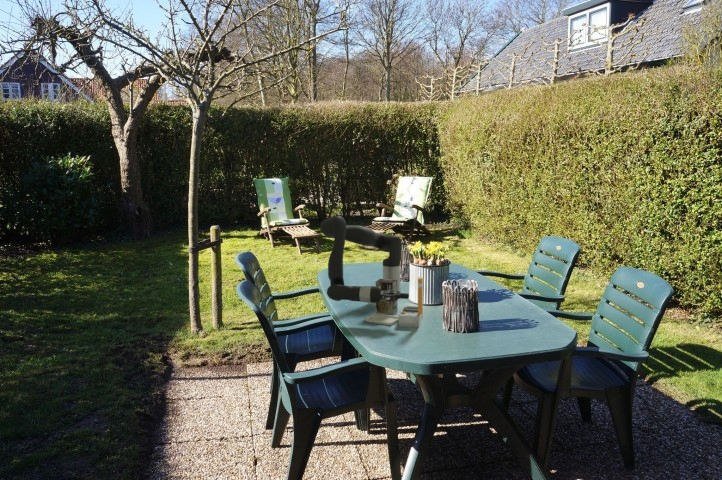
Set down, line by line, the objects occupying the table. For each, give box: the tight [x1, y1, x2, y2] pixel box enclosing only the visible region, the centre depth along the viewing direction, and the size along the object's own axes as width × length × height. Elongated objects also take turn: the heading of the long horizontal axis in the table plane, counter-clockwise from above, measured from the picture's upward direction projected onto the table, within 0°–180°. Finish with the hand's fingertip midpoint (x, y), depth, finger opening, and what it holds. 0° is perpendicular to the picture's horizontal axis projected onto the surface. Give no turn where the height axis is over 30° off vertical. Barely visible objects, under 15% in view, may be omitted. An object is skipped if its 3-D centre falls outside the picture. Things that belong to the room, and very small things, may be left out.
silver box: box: [398, 305, 424, 328], centre depth 257 cm, size 14×9×6 cm, turn 167°
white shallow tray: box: [365, 312, 399, 327], centre depth 261 cm, size 11×14×1 cm
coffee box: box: [375, 278, 399, 316], centre depth 271 cm, size 9×6×16 cm
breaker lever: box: [417, 277, 424, 314], centre depth 252 cm, size 3×2×16 cm, turn 167°
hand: (408, 296), depth 253 cm, fingers closed
